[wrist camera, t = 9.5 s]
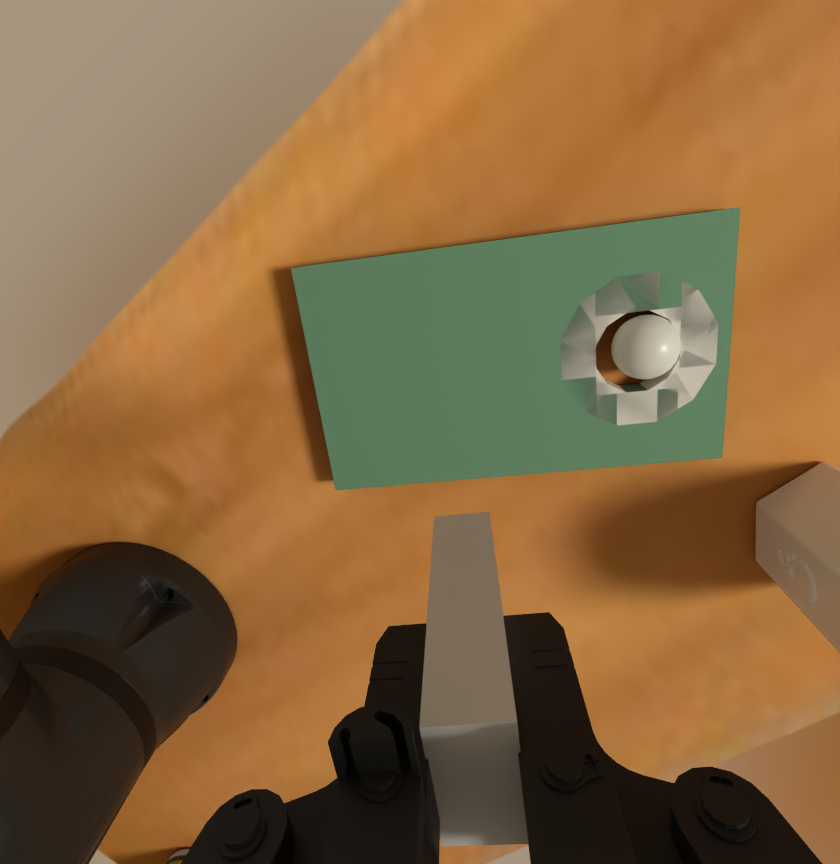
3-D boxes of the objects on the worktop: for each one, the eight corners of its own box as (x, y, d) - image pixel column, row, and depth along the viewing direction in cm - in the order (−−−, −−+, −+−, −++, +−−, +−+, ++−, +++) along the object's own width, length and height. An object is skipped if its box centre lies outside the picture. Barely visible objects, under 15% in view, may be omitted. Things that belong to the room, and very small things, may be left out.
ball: (643, 388, 28) (697, 375, 29) (639, 319, 27) (695, 308, 28) (600, 382, 31) (650, 370, 32) (595, 320, 30) (646, 310, 31)
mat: (340, 479, 36) (335, 490, 34) (298, 266, 31) (290, 268, 30) (710, 448, 33) (722, 457, 31) (725, 209, 28) (740, 207, 27)
